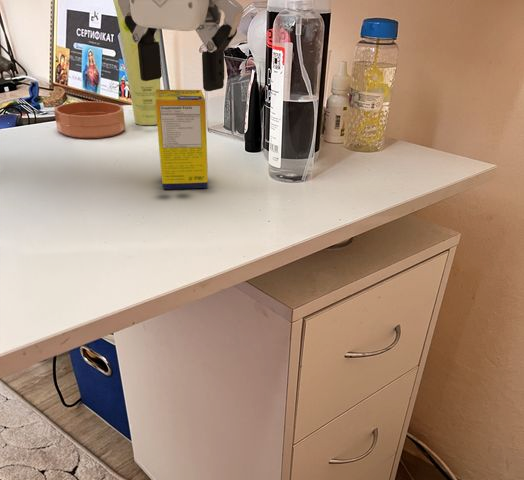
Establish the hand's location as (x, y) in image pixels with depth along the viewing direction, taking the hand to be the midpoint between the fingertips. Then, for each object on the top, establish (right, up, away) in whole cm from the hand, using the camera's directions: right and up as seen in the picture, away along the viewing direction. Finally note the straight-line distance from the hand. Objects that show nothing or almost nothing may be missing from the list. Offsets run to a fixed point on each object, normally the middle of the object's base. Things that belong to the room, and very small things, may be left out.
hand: (181, 84), depth 64 cm
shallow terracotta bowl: (-19, +5, +26) cm, 33 cm away
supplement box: (-1, -10, +7) cm, 12 cm away
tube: (-11, +9, +32) cm, 35 cm away
